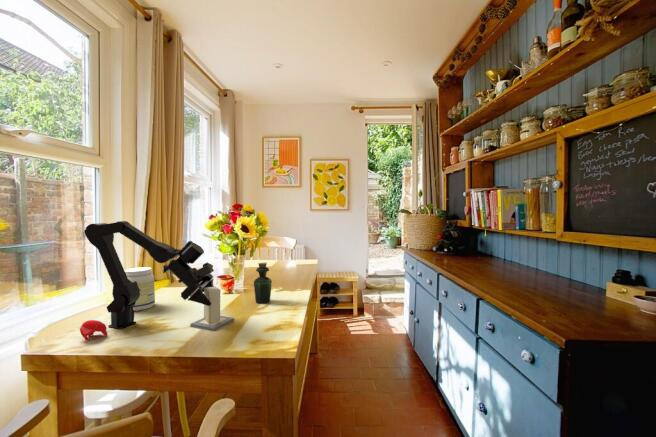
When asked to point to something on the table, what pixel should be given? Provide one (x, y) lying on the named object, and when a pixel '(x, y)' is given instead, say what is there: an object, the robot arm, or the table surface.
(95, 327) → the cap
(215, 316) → the skincare box
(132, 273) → the supplement tub
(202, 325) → the slate pad
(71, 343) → the table surface
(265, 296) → the potion bottle
